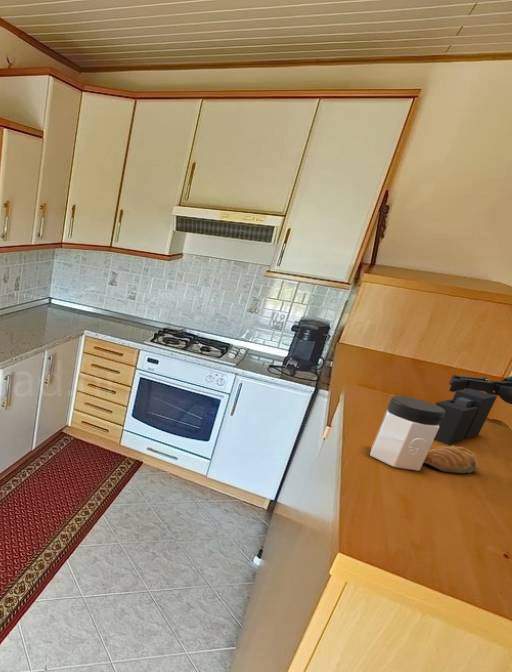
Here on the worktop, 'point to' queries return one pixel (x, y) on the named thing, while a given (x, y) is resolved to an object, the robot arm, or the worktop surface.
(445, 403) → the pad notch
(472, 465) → the pastry
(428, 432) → the jar
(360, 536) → the worktop surface
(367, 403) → the worktop surface
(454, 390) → the robot arm
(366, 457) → the worktop surface
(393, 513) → the worktop surface
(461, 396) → the block
